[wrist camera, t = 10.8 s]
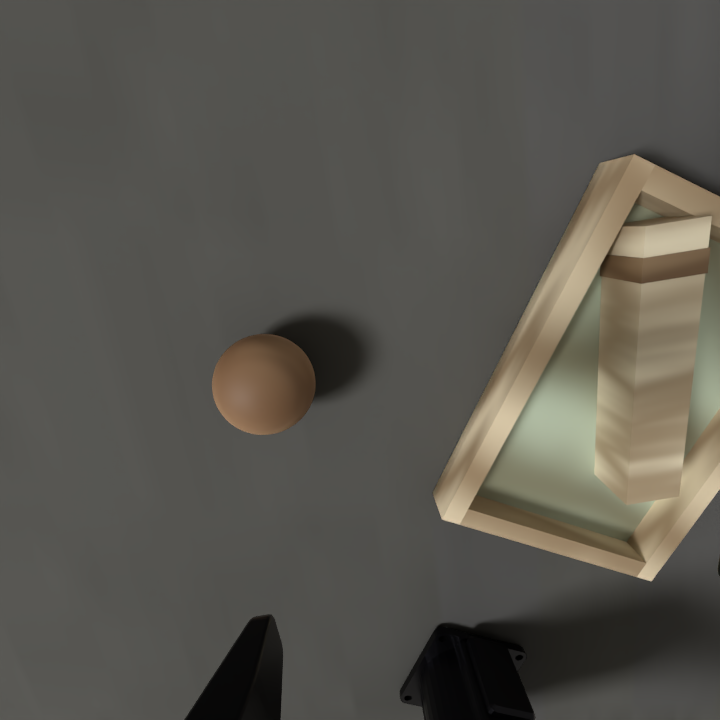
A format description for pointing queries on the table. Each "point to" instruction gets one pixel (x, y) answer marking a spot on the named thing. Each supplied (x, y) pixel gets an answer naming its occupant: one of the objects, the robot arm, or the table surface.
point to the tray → (585, 399)
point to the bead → (263, 384)
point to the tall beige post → (648, 354)
